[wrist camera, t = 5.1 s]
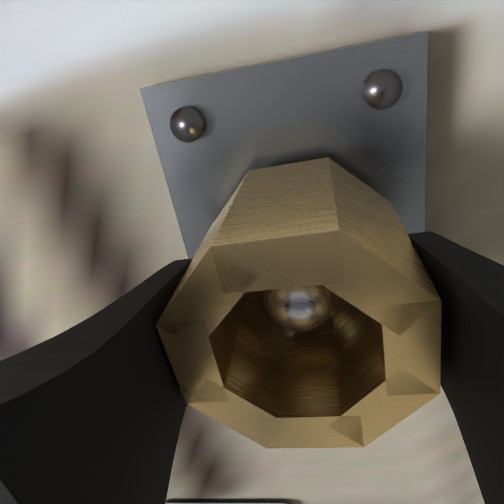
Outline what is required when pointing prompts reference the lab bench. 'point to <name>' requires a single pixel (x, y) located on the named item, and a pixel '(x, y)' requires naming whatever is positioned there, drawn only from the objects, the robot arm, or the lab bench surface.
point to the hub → (312, 341)
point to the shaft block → (297, 138)
